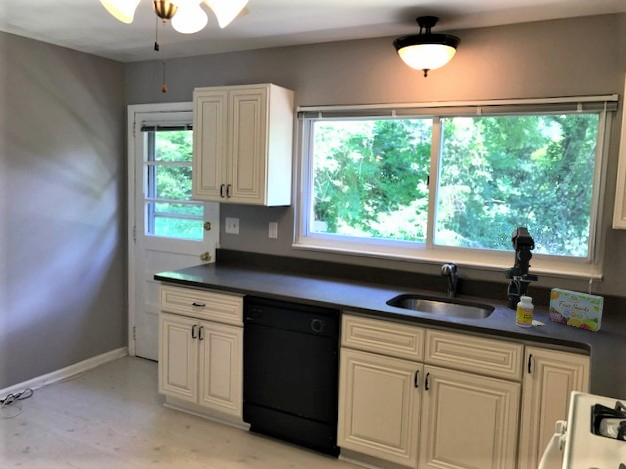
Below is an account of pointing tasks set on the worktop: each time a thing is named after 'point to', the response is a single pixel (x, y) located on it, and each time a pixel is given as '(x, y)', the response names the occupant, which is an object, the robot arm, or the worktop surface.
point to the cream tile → (536, 323)
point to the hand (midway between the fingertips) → (520, 295)
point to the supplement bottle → (524, 312)
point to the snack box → (576, 309)
